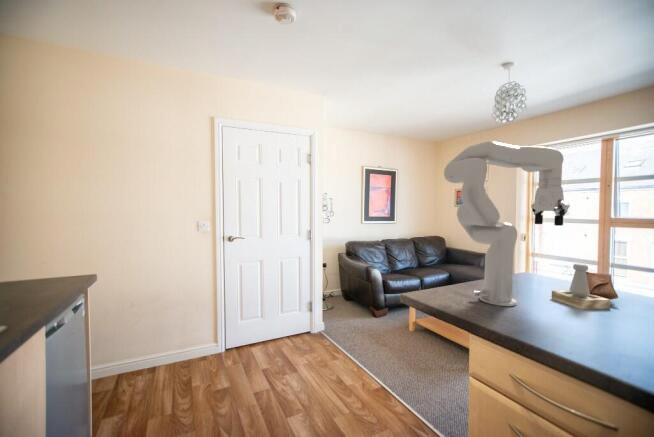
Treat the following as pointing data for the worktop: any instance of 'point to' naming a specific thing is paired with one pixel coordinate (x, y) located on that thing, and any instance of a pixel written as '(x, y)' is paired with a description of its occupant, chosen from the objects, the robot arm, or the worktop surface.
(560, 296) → the square wooden tray
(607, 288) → the sunglasses case
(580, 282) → the salt shaker
